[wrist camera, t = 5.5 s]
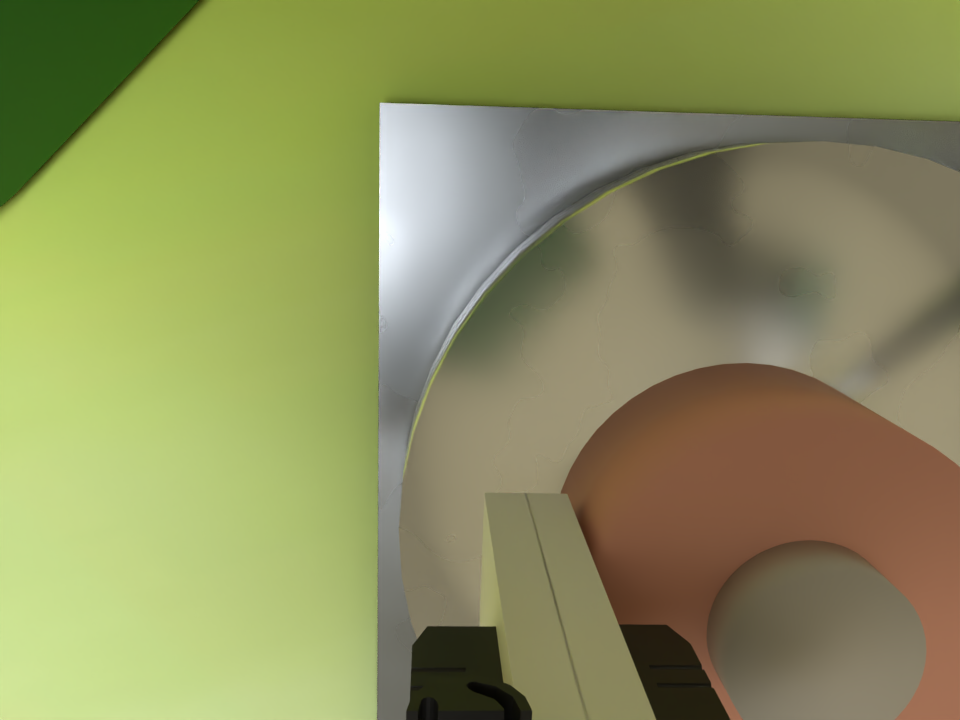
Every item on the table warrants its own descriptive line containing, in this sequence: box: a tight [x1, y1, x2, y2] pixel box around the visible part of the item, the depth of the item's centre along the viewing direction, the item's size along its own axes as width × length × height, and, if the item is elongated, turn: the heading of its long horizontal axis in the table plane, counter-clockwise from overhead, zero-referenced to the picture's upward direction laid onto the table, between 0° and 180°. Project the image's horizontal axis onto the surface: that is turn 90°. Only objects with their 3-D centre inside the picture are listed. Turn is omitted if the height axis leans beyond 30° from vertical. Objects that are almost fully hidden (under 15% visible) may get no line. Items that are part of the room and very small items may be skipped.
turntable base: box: [377, 103, 960, 720], centre depth 14 cm, size 16×16×12 cm
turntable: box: [399, 141, 960, 639], centre depth 16 cm, size 15×15×8 cm
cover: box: [560, 363, 960, 720], centre depth 15 cm, size 7×7×4 cm
